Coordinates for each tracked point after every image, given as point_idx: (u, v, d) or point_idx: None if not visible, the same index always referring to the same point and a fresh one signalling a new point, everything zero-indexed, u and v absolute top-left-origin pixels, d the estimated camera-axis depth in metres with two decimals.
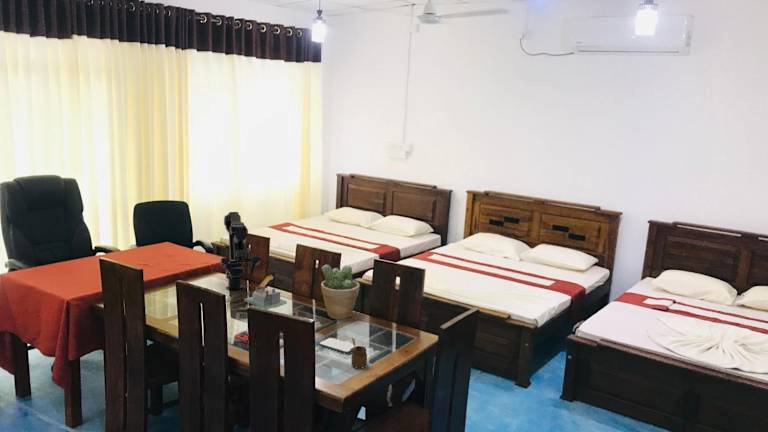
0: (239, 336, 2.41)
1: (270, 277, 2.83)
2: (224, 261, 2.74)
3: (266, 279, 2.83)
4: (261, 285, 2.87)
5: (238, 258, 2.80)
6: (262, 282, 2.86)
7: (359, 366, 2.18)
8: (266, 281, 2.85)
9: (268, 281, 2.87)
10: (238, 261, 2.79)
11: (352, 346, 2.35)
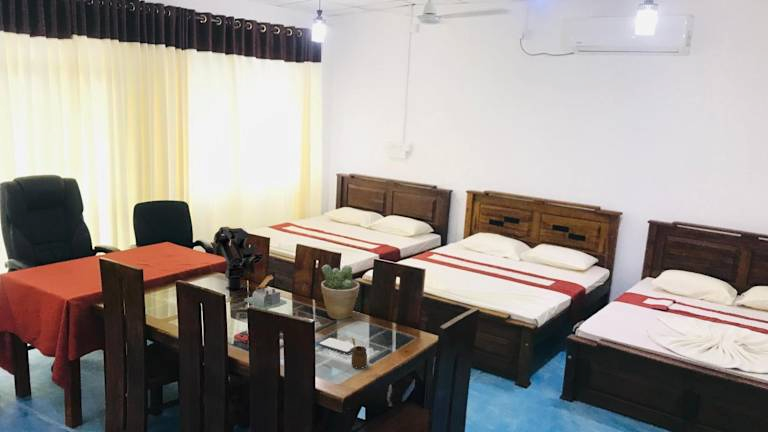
0: (239, 336, 2.41)
1: (270, 277, 2.83)
2: (236, 260, 2.87)
3: (266, 279, 2.83)
4: (261, 285, 2.87)
5: None
6: (262, 282, 2.86)
7: (359, 366, 2.18)
8: (266, 281, 2.85)
9: (268, 281, 2.87)
10: None
11: (352, 346, 2.35)
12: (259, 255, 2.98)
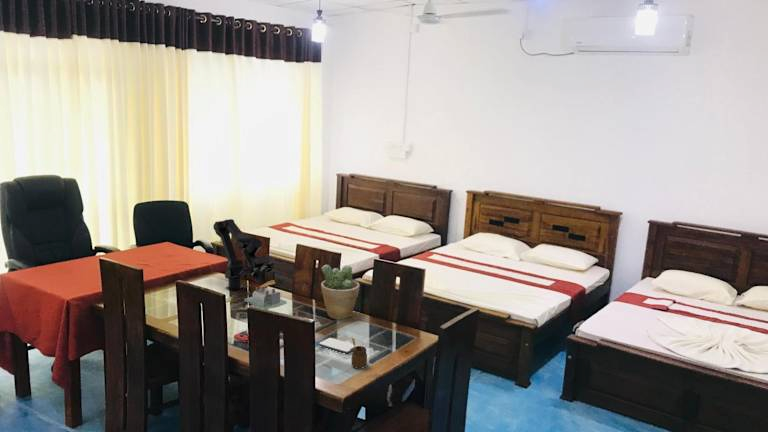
0: (238, 336, 2.42)
1: (272, 282, 2.82)
2: (248, 270, 2.81)
3: (268, 283, 2.83)
4: (262, 287, 2.86)
5: (255, 267, 2.89)
6: (263, 284, 2.85)
7: (359, 366, 2.18)
8: (267, 284, 2.85)
9: (269, 284, 2.86)
10: None
11: (352, 346, 2.35)
12: (271, 264, 2.92)
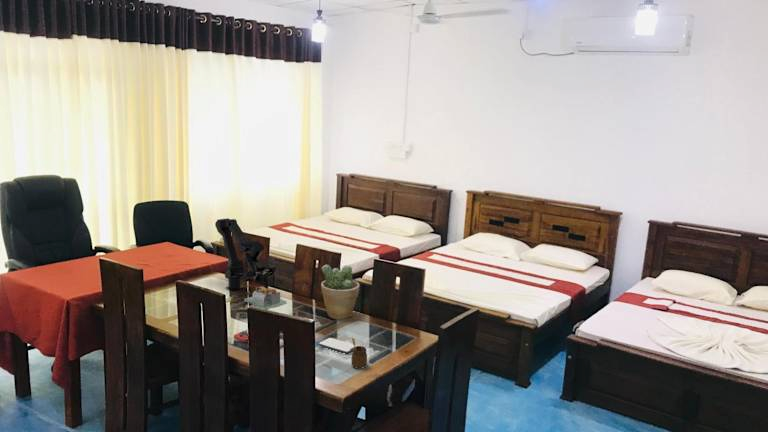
0: (238, 336, 2.42)
1: (274, 292, 2.82)
2: (250, 274, 2.81)
3: (269, 291, 2.83)
4: None
5: (257, 271, 2.88)
6: (264, 289, 2.85)
7: (359, 366, 2.18)
8: None
9: None
10: None
11: (352, 346, 2.35)
12: (273, 268, 2.92)
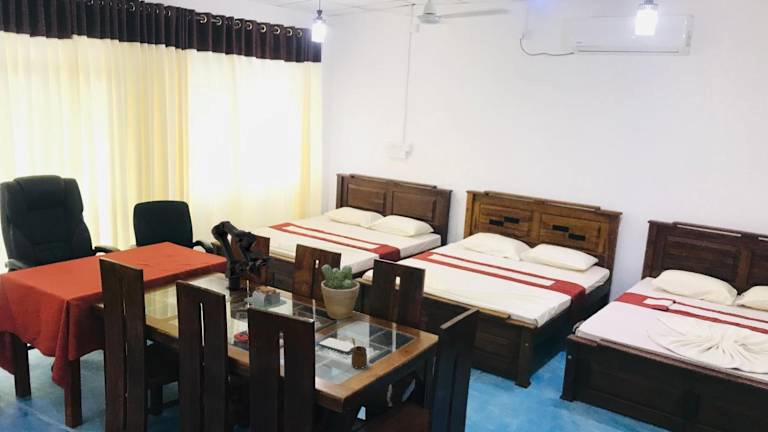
0: (238, 335, 2.42)
1: (274, 292, 2.82)
2: (243, 264, 2.83)
3: (269, 291, 2.83)
4: None
5: None
6: (264, 289, 2.85)
7: (359, 366, 2.18)
8: None
9: None
10: None
11: (352, 346, 2.35)
12: (266, 259, 2.94)
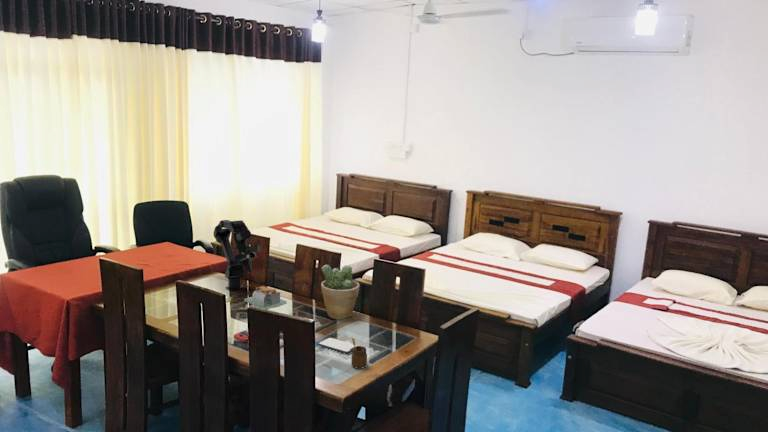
0: (238, 335, 2.42)
1: (274, 292, 2.82)
2: (245, 255, 2.88)
3: (269, 291, 2.83)
4: None
5: None
6: (264, 289, 2.85)
7: (359, 366, 2.18)
8: None
9: None
10: None
11: (352, 346, 2.35)
12: (255, 254, 3.02)
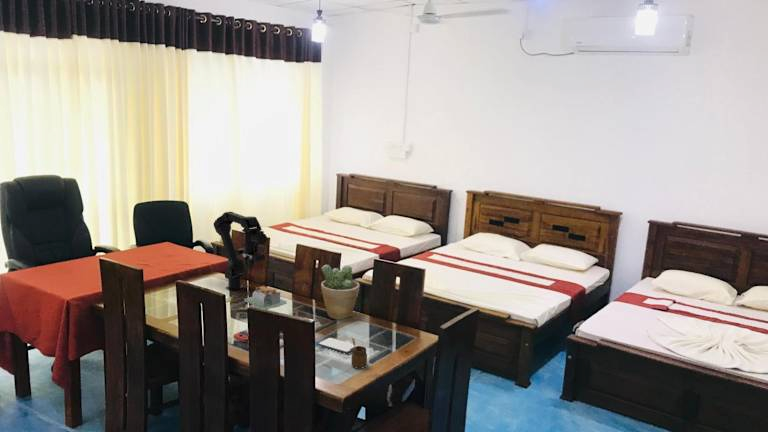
0: (238, 335, 2.42)
1: (274, 292, 2.82)
2: None
3: (269, 291, 2.83)
4: None
5: None
6: (264, 289, 2.85)
7: (359, 366, 2.18)
8: None
9: None
10: None
11: (352, 346, 2.35)
12: None
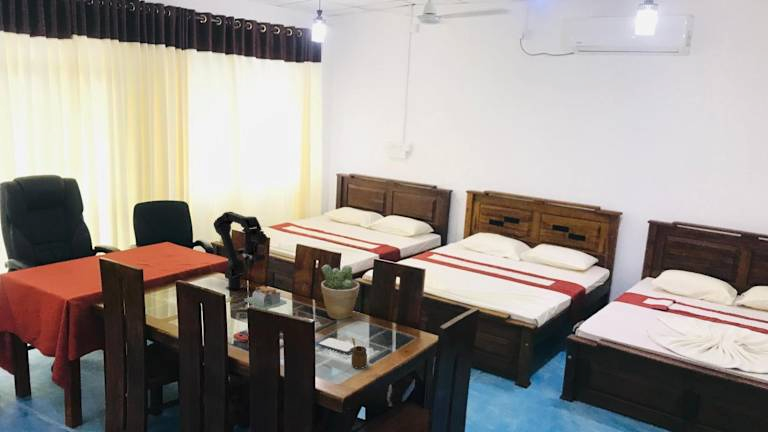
0: (238, 335, 2.42)
1: (274, 292, 2.82)
2: None
3: (269, 291, 2.83)
4: None
5: None
6: (264, 289, 2.85)
7: (359, 366, 2.18)
8: None
9: None
10: None
11: (352, 346, 2.35)
12: None
